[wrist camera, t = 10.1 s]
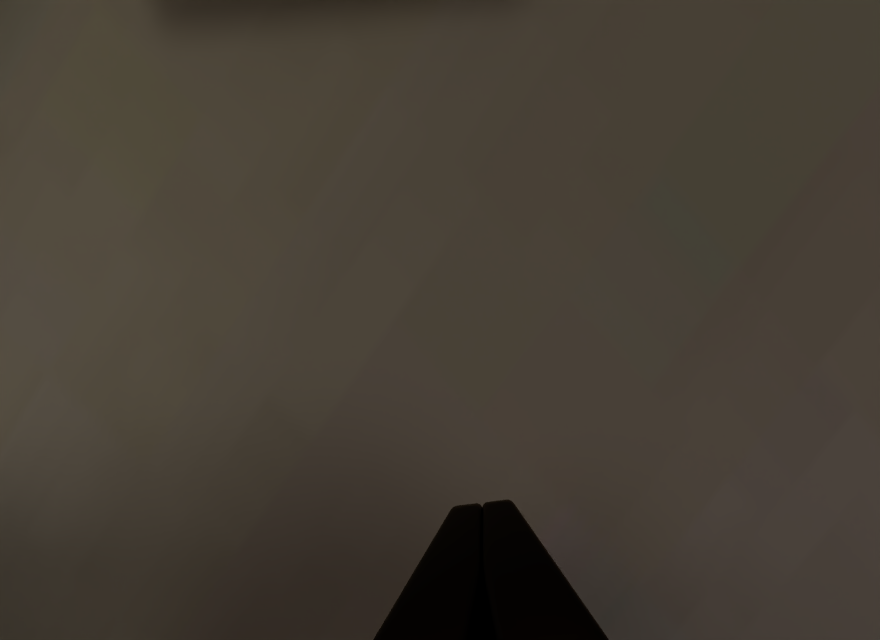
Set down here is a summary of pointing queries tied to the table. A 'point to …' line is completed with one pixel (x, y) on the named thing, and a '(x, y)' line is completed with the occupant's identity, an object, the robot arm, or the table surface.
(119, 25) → the table surface
